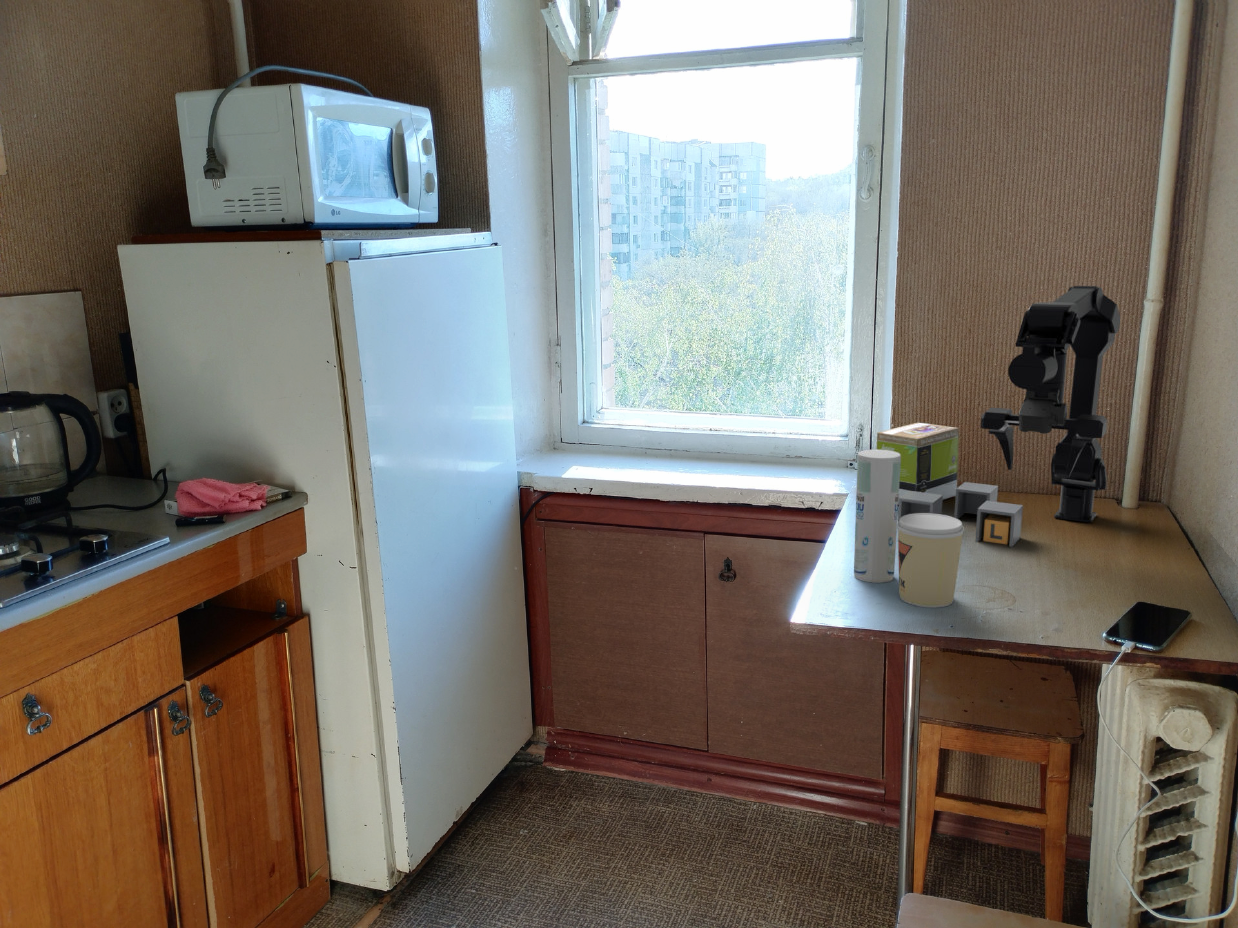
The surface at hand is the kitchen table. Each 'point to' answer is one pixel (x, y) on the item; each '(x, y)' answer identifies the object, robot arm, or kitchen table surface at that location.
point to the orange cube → (997, 529)
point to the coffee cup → (928, 558)
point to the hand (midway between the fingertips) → (1038, 472)
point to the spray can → (876, 515)
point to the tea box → (924, 457)
